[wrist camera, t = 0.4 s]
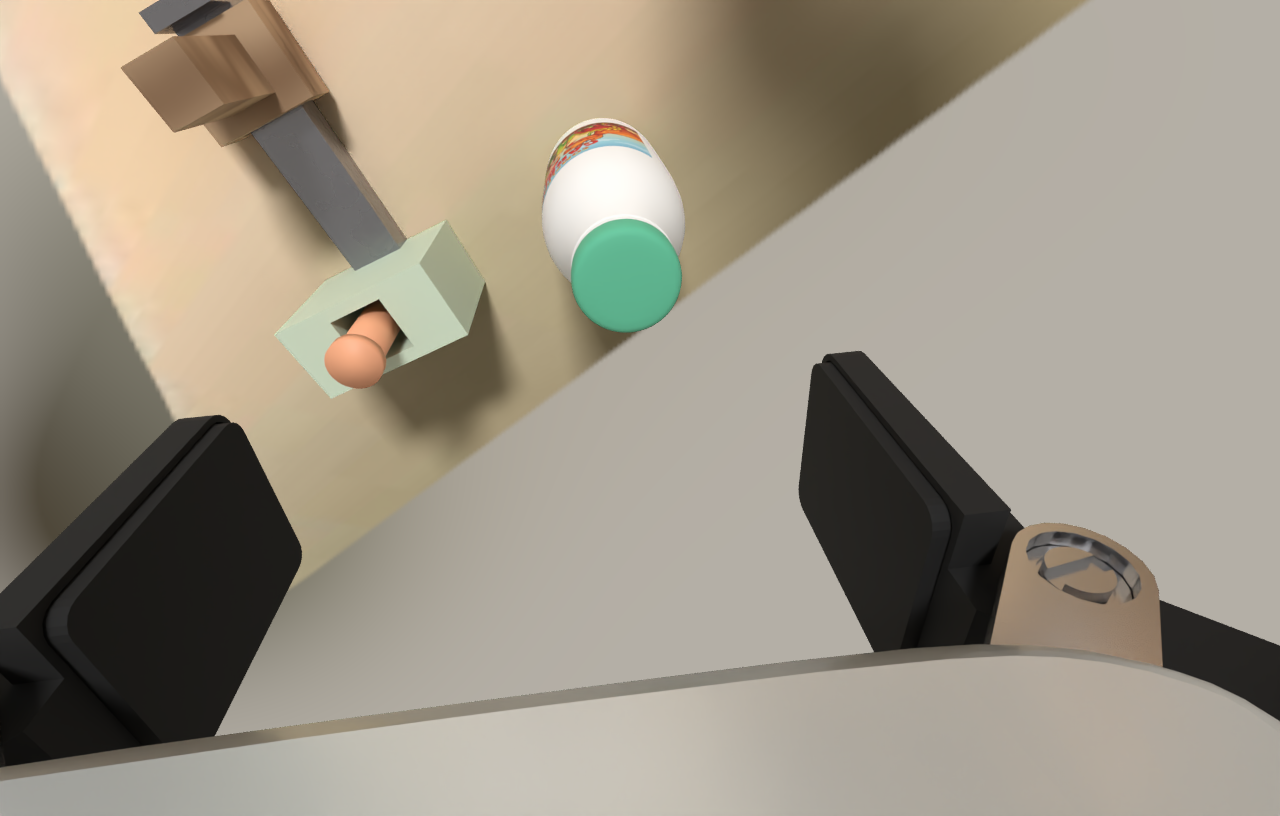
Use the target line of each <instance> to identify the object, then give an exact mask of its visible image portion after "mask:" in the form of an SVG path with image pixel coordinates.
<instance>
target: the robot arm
mask: <svg viewBox="0 0 1280 816" xmlns="http://www.w3.org/2000/svg"><path fill="white" fill-rule="evenodd" d="M799 498H800V502H801V506H802V508H803V511H804V513H805V515H806V517H807V519H808V520H809V523H810V525H811V527H812V529H813V530H814V533H815V535H816V537H817V539H818V540H819V543H820V544H821V546H822V548H823V551H824V553H825V555H826V556H827V559H828V561H829V563H830V565H831V566H832V568H833V570H834V573H835V574H836V577H837V578H838V581H839V583H840V585H841V587H842V589H843V590H844V592H845V595H846V596H847V598H848V600H849V602H850V604H851V607H852V609H853V611H854V612H855V614H856V616H857V618H858V620H859V623H860V625H861V627H862V629H863V630H864V633H865V635H866V637H867V639H868V641H869V643H870V645H871V647H872V649H873V650H874V652H873V653H864V654H856V655H846V656H838V657H837V656H836V657H827V658H818V659H809V660H800V661H791V662H782V663H774V664H766V665H758V666H750V667H742V668H734V669H726V670H719V671H711V672H702V673H694V674H686V675H678V676H671V677H663V678H655V679H647V680H639V681H631V682H623V683H615V684H607V685H599V686H591V687H583V688H576V689H568V690H561V691H552V692H545V693H537V694H529V695H521V696H514V697H507V698H498V699H491V700H484V701H475V702H468V703H460V704H453V705H445V706H437V707H430V708H422V709H414V710H407V711H399V712H392V713H384V714H377V715H369V716H361V717H354V718H346V719H339V720H331V721H324V722H317V723H309V724H302V725H295V726H287V727H280V728H273V729H265V730H258V731H250V732H243V733H236V734H229V735H221V736H215V734H216V732H217V730H218V728H219V726H220V724H221V722H222V720H223V718H224V716H225V714H226V712H227V710H228V708H229V706H230V704H231V702H232V700H233V698H234V696H235V694H236V692H237V690H238V688H239V686H240V684H241V682H242V680H243V678H244V676H245V674H246V672H247V670H248V668H249V666H250V664H251V662H252V660H253V658H254V656H255V654H256V652H257V650H258V648H259V646H260V644H261V642H262V640H263V638H264V636H265V634H266V632H267V630H268V628H269V626H270V624H271V622H272V620H273V618H274V616H275V615H276V613H277V611H278V609H279V607H280V605H281V603H282V601H283V599H284V597H285V595H286V593H287V591H288V589H289V587H290V585H291V583H292V581H293V579H294V577H295V575H296V573H297V571H298V569H299V566H300V564H301V559H302V550H301V546H300V543H299V541H298V539H297V537H296V535H295V533H294V531H293V529H292V527H291V525H290V523H289V521H288V519H287V517H286V515H285V513H284V511H283V509H282V507H281V505H280V503H279V501H278V499H277V497H276V495H275V493H274V491H273V489H272V487H271V485H270V483H269V481H268V479H267V477H266V475H265V473H264V471H263V469H262V467H261V465H260V463H259V460H258V458H257V456H256V454H255V452H254V450H253V448H252V446H251V444H250V442H249V440H248V438H247V436H246V434H245V432H244V431H243V429H242V428H241V426H239V425H238V424H237V423H231V422H230V421H229V420H228V419H227V418H226V417H224V416H221V415H214V416H203V417H193V418H184V419H178V420H177V421H175V422H174V423H172V424H171V425H170V426H169V428H167V429H166V430H165V431H164V432H163V433H162V434H161V435H160V436H159V437H158V438H157V439H156V440H155V441H154V442H153V443H152V444H151V445H150V446H149V447H148V448H147V449H146V450H145V451H144V452H143V453H142V454H141V455H140V456H139V457H138V458H137V459H136V460H135V461H134V462H133V463H132V464H131V465H130V466H129V467H128V468H127V469H126V470H125V471H124V472H123V473H122V474H121V475H120V476H119V477H118V478H117V479H116V480H115V481H114V482H113V483H112V484H111V485H110V486H109V487H108V488H107V489H106V490H105V491H104V492H103V493H102V494H101V495H100V496H99V497H98V498H97V499H95V501H94V502H92V503H91V504H90V506H88V507H87V508H86V509H85V510H84V511H83V512H82V513H81V514H80V515H79V516H78V517H77V518H76V519H75V520H74V521H73V522H72V523H71V524H70V525H69V526H68V527H67V528H66V529H65V530H64V531H63V532H62V533H61V534H60V535H59V536H58V537H57V538H56V539H55V540H54V541H53V542H52V543H51V544H50V545H49V546H48V547H47V548H46V549H45V550H44V551H43V552H42V553H41V554H40V555H39V556H38V557H37V558H36V559H35V560H34V561H33V562H32V563H31V564H30V565H29V566H28V567H27V568H26V569H25V570H24V571H23V572H22V573H21V574H20V575H19V576H18V577H16V578H15V580H13V581H12V582H11V583H10V584H9V585H8V586H7V587H6V588H5V590H3V591H2V592H1V593H0V816H1280V646H1279V645H1277V644H1274V643H1271V642H1269V641H1266V640H1264V639H1260V638H1258V637H1256V636H1253V635H1250V634H1248V633H1245V632H1243V631H1240V630H1237V629H1235V628H1232V627H1229V626H1227V625H1224V624H1221V623H1219V622H1216V621H1214V620H1211V619H1208V618H1206V617H1203V616H1200V615H1198V614H1195V613H1192V612H1190V611H1187V610H1185V609H1182V608H1179V607H1177V606H1174V605H1171V604H1169V603H1166V602H1164V601H1161V600H1159V590H1158V586H1157V583H1156V580H1155V577H1154V575H1153V574H1152V573H1151V571H1150V570H1149V569H1148V568H1147V566H1146V565H1145V564H1144V562H1143V561H1142V560H1140V559H1139V558H1138V557H1137V556H1136V555H1134V554H1133V553H1132V552H1130V551H1129V550H1128V549H1127V548H1126V547H1124V546H1122V545H1120V544H1118V543H1117V542H1115V541H1113V540H1111V539H1110V538H1108V537H1106V536H1103V535H1101V534H1098V533H1096V532H1093V531H1091V530H1088V529H1085V528H1081V527H1077V526H1072V525H1068V524H1061V523H1041V524H1036V525H1030V526H1028V527H1026V528H1024V527H1023V526H1022V525H1021V524H1020V523H1019V522H1018V520H1017V519H1016V518H1015V517H1014V516H1013V515H1012V514H1011V513H1010V511H1011V509H1010V508H1009V507H1008V506H1007V505H1006V504H1005V503H1004V502H1003V501H1002V500H1001V498H1000V497H999V496H998V495H997V494H996V493H995V492H994V491H993V490H992V489H991V488H990V487H989V486H988V485H987V484H986V482H985V481H984V480H983V479H982V478H981V477H980V476H979V475H978V474H977V473H976V472H975V471H974V470H973V469H972V468H971V467H970V465H969V464H968V463H967V462H966V461H965V460H964V459H963V458H962V457H961V456H960V455H959V454H958V453H957V452H956V451H955V449H954V448H953V447H952V446H951V445H950V444H949V443H948V442H947V441H946V440H945V439H944V438H943V437H942V436H941V435H940V433H939V432H938V431H937V430H936V429H935V428H934V427H933V426H932V425H931V424H930V423H929V422H928V421H927V420H926V419H925V417H924V416H923V415H922V414H921V413H920V412H919V411H918V410H917V409H916V408H915V407H914V406H913V405H912V404H911V403H910V401H908V399H907V398H906V397H905V396H904V395H903V394H902V393H901V392H900V391H899V390H898V389H897V388H896V387H895V386H894V384H892V383H891V381H890V380H889V379H888V378H887V377H886V376H885V375H884V374H883V373H882V372H881V371H880V370H879V369H878V367H877V366H876V365H875V364H874V363H873V362H872V361H871V360H870V359H869V358H868V357H867V356H866V355H865V354H864V353H863V352H862V351H855V352H845V353H835V354H827V355H826V356H824V358H823V360H822V363H819V364H815V365H814V366H813V369H812V374H811V383H810V391H809V400H808V410H807V419H806V427H805V435H804V444H803V453H802V462H801V472H800V480H799Z"/></svg>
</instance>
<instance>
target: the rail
mask: <svg viewBox="0 0 1280 816" xmlns="http://www.w3.org/2000/svg"><path fill="white" fill-rule="evenodd" d="M242 1H243V0H159V1H157V2H156V3H154V4H152V5H151V6H149V7H147V8H146V9H144V10H142V11H141V12H139V14H140V15H141V16H142V18H143V19H144V20H145V22H146V23H147V24H148V26H149V27H150V28H151V29H152V31H153V32H154V33H155V34H172V33H176V34H177V35H178V36H184V35H186V34H188V33H189V32H191V31H193V30H194V29H196V28H198V27H200V26H201V25H203V24H205V23H206V22H208V21H210V20H211V19H213V18H215V17H216V16H218V15H220V14H221V13H223V12H225V11H226V10H228V9H230V8H231V7H233V6H235V5H237V4H238V3H240V2H242ZM251 134H252V135H253V136H254V138H255V139H256V140H257V141H258V143H259V144H260V145H261V147H262V148H263V149H264V151H265V152H266V153H267V155H268V156H269V157H270V159H271V160H272V161H273V163H274V164H275V165H276V167H277V168H278V169H279V171H280V172H281V173H282V175H283V176H284V177H285V179H286V180H287V181H288V183H289V184H290V185H291V187H292V188H293V189H294V191H295V192H296V193H297V195H298V196H299V197H300V199H301V200H302V201H303V203H304V204H305V205H306V207H307V208H308V209H309V211H310V212H311V213H312V214H313V216H314V217H315V218H316V220H317V221H318V222H319V224H320V225H321V226H322V228H323V229H324V230H325V232H326V233H327V234H328V236H329V237H330V238H331V240H332V241H333V242H334V244H335V245H336V246H337V248H338V249H339V250H340V252H341V253H342V254H343V256H344V257H345V258H346V260H347V261H348V262H349V264H350V265H351V266H352V268H353V269H354V270H355V271H356V270H358V269H360V268H362V267H364V266H366V265H368V264H370V263H372V262H374V261H376V260H378V259H380V258H382V257H384V256H386V255H388V254H390V253H392V252H394V251H396V250H398V249H400V248H401V247H402V245H403V244H404V243H405V241H406V240H407V239H406V238H405V236H404V235H403V233H402V232H401V230H400V229H399V227H398V226H397V224H396V223H395V221H394V220H393V218H392V217H391V215H390V214H389V212H388V211H387V210H386V208H385V207H384V205H383V204H382V202H381V201H380V199H379V198H378V196H377V195H376V193H375V192H374V190H373V189H372V187H371V186H370V184H369V183H368V182H367V180H366V179H365V177H364V176H363V174H362V173H361V171H360V170H359V168H358V167H357V165H356V164H355V162H354V161H353V159H352V158H351V156H350V155H349V154H348V152H347V151H346V149H345V148H344V146H343V145H342V143H341V142H340V140H339V139H338V137H337V136H336V134H335V133H334V131H333V130H332V128H331V127H330V125H329V124H328V123H327V121H326V120H325V118H324V117H323V115H322V114H321V112H320V111H319V109H318V108H317V106H316V105H315V103H314V102H313V100H310V101H307V102H305V103H303V104H301V105H299V106H298V107H296V108H294V109H292V110H290V111H289V112H287V113H285V114H283V115H281V116H280V117H278V118H276V119H274V120H272V121H271V122H269V123H267V124H265V125H263V126H262V127H260V128H258V129H256V130H254V131H253V132H251Z"/></svg>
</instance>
